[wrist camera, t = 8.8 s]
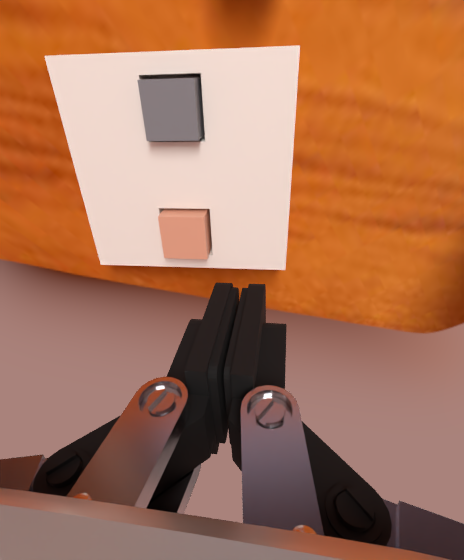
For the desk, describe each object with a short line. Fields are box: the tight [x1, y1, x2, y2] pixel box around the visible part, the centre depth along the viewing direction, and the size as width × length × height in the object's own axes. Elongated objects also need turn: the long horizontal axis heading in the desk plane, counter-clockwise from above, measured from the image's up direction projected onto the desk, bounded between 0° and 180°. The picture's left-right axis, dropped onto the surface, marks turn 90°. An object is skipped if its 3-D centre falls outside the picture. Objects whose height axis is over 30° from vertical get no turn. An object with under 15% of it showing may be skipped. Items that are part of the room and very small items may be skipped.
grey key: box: [137, 77, 205, 141], centre depth 28 cm, size 4×4×3 cm
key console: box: [45, 46, 300, 270], centre depth 32 cm, size 20×19×4 cm
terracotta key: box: [158, 208, 212, 259], centre depth 33 cm, size 4×4×3 cm
